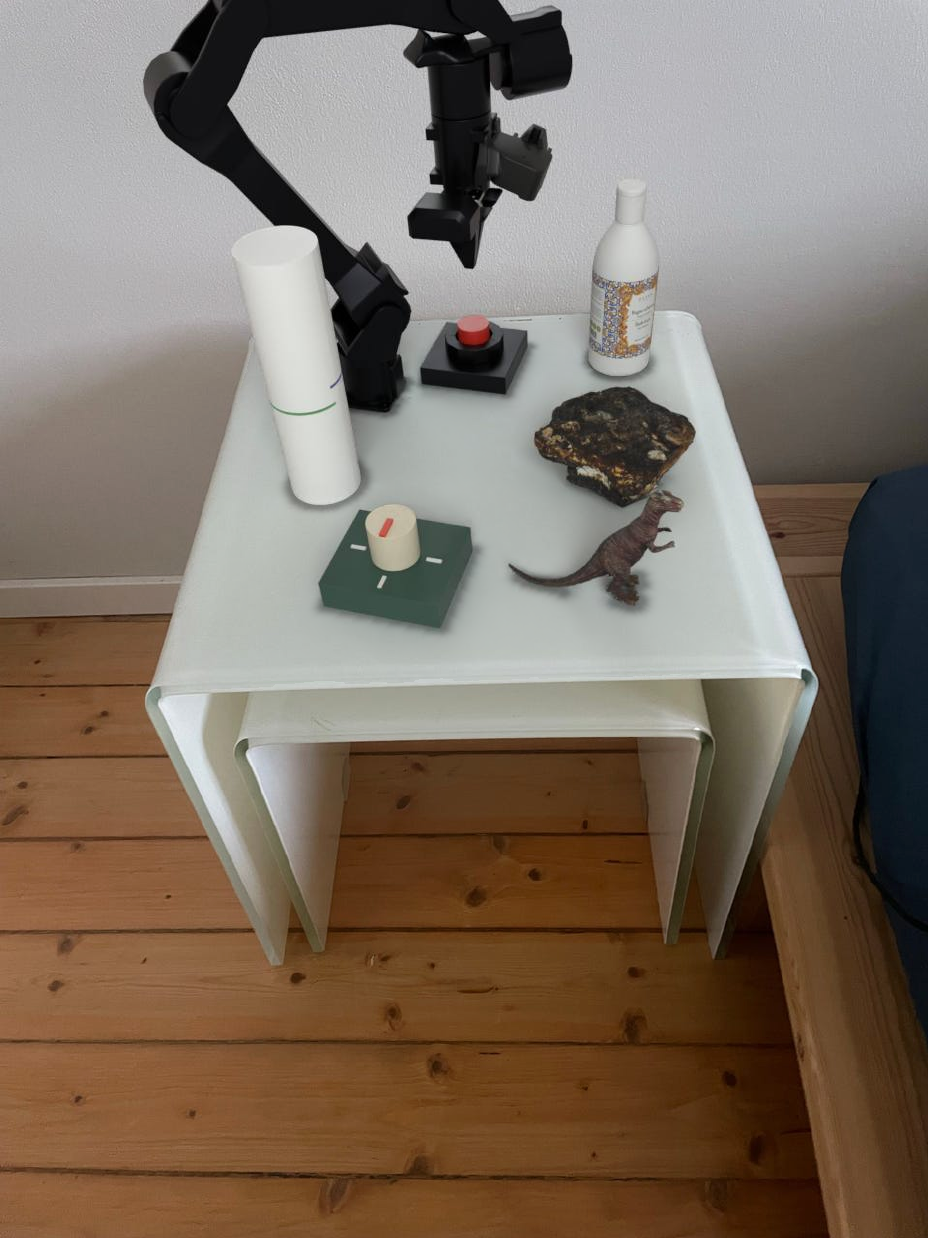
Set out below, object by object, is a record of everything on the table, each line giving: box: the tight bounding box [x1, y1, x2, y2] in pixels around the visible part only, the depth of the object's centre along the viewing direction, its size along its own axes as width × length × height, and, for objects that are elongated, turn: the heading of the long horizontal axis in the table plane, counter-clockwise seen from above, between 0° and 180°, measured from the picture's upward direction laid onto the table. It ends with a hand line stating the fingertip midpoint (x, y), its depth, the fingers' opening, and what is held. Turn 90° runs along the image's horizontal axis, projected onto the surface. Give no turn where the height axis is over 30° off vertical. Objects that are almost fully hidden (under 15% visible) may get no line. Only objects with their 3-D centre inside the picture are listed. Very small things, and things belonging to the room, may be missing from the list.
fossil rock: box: [533, 386, 697, 509], centre depth 90 cm, size 14×14×6 cm
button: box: [456, 314, 490, 345], centre depth 103 cm, size 4×4×2 cm
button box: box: [419, 320, 529, 395], centre depth 105 cm, size 10×10×4 cm
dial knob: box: [365, 503, 420, 571], centre depth 80 cm, size 4×4×4 cm
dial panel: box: [317, 509, 473, 629], centre depth 82 cm, size 11×10×3 cm
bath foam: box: [588, 178, 660, 377], centre depth 98 cm, size 7×7×20 cm
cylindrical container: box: [230, 225, 362, 506], centre depth 84 cm, size 7×7×25 cm
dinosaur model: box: [507, 489, 685, 606], centre depth 77 cm, size 4×12×15 cm
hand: (470, 267), depth 97 cm, fingers closed
